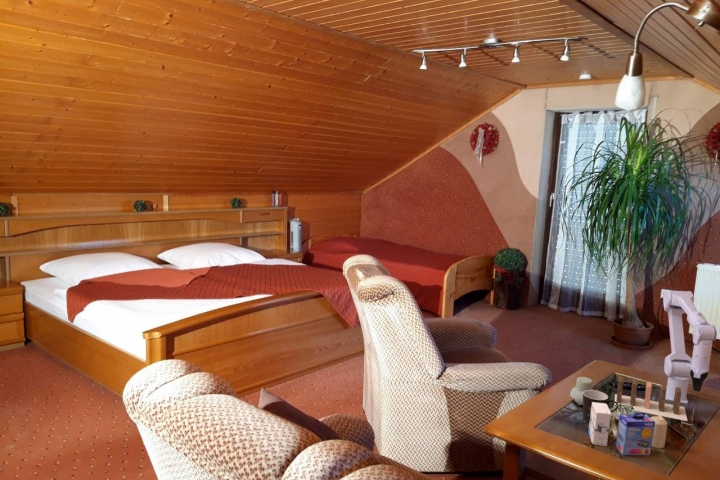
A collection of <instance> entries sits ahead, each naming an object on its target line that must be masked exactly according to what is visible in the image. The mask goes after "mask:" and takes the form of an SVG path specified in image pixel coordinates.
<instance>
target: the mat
mask: <svg viewBox="0 0 720 480" xmlns="http://www.w3.org/2000/svg"><path fill="white" fill-rule="evenodd" d="M630 399H631V396H628V395H623V394H622V398H621V404H622V405H630ZM614 401H616V402H617V393H614ZM644 401H645V398H644V399H643V398H640V397H639V398H638V397H636V401H635V406H633V408H634V410H635V412H638V413H646V414H650V415H653V416H657V415H660V416H662V417H663V418H664V417H665V418H671V419H675V420H679V421H680V420H681V421H684V422H688V418H687V413H686V412H687V411H686V408H685V406H680V407H679V414H678V415H676V414H674V413H673V404H669V403H665V405H664V412H661V411H659V407H658V405H659V401H653V400H650V405H649V409H645V408H644ZM613 403H614V402H613ZM619 404H620V403H618V405H619ZM615 405H616V403H614V405H613V406H615ZM634 410H633V411H634Z"/></svg>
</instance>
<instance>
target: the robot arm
mask: <svg viewBox="0 0 720 480" xmlns="http://www.w3.org/2000/svg"><path fill="white" fill-rule="evenodd" d="M694 296H695V295H694V294H693V292H692V291H691V290H687V291H686V290H685V291H684V290H669V289H667V290H666V291H664V293H663V296H662V299H663V300H662V301H663V309H664V311H665V312H666V313H667V315H668V316H667V317H668V327H669V328H668V329H669V336H670V338H669V339H670V350H671V353H670V354H668V355H667V356H665V358H664V366H663V370H664V373H665V375H666V376H667V382H666V397H665V401H666V400H667V401H673V402H674V395H675V388H676V387H679V388H680V389H681V399H680V403H682V404H683V403H684V404H688V398H687V393H688V385H689V381H691V382H692V390H693V391H694V392H698V393H699V392H701V389H702V387H703V384H704V382H705V380H706V379H707V378H708V376H709V373H710V362H711V355H712V348H713V342H714V341H716V340H717V337H718V331H717V327H716V325H714V324H711V323H709V322H708V320H707V319H706V317H705V316H704V314H703V313H702V312H701V311H698V310H697V307H696V306H695V304H694V302H695V297H694ZM683 314H686V315H687V316H686V321H687V322H688V324H689V325H690V327H691V329H692V331H691V334H692V342H693V350H692V356H689V355H688V354H687V353H686V344H685V336H684V335H685V334H684V326H683V325H684V324H683V317H682V316H683Z"/></svg>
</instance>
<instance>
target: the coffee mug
mask: <svg viewBox="0 0 720 480" xmlns="http://www.w3.org/2000/svg"><path fill="white" fill-rule="evenodd" d="M592 402H596V403H604V404H607V406H608V405H609V404H610V403H616V405H617V407H615V408H614V409H613V410H610V412H611V414H613V413H614V412H615V411H617V410H618V408H619V407H618V403H617V402H616V401H615V400H609V396H608V394H606V393H605V392H603V391H600V390H595V389H592V390H585V391H583V406H582V408H583V409H582V410H583V411H582V412H583V415H582V416H583V421H584V420H585V422H586V423H588V424H589V423H590V415H591V407H592Z"/></svg>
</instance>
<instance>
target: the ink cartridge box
mask: <svg viewBox="0 0 720 480" xmlns="http://www.w3.org/2000/svg"><path fill="white" fill-rule="evenodd" d="M654 426H655V421H654V420H653V419H652V418H651V416H649V415H648V413H644V412H635V413H633V414H632V413H622V414H619V417H618V425H617V434H616V441H615V442H616V443H615V448H616V449H617V450H618V451H619V452H620V454H621V455H623V456H650V455H651V451H652V439H653V433H654Z"/></svg>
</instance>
